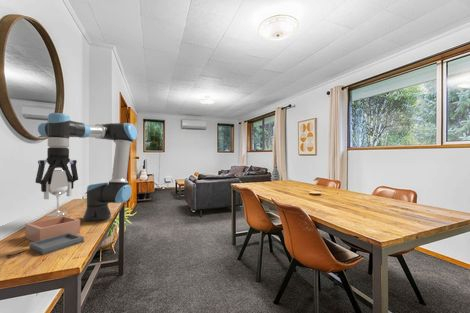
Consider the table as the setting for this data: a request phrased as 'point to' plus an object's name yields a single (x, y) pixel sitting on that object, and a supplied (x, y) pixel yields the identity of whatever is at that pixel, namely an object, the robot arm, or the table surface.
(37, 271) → the table surface
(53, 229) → the holder
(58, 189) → the wineglass
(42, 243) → the tray
